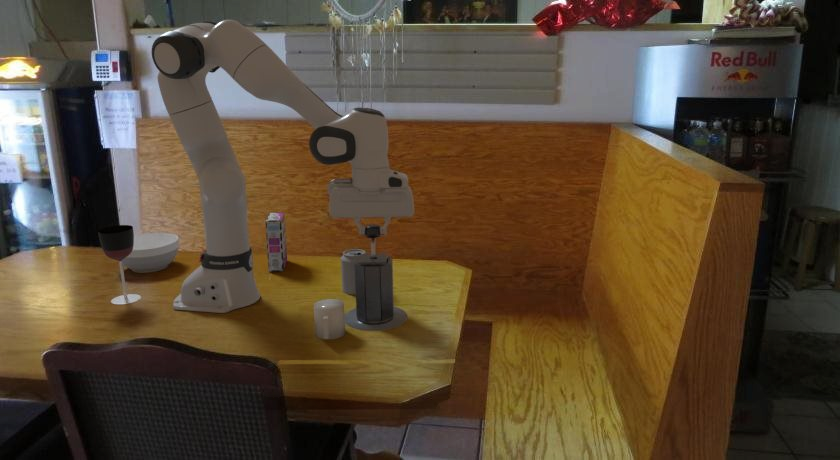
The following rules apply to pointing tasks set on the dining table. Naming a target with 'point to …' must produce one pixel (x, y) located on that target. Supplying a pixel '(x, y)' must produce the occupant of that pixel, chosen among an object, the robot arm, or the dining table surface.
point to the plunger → (372, 237)
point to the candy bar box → (276, 242)
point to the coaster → (352, 321)
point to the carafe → (374, 289)
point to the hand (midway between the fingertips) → (372, 234)
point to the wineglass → (119, 253)
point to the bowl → (152, 252)
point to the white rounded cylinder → (329, 319)
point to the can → (349, 270)
